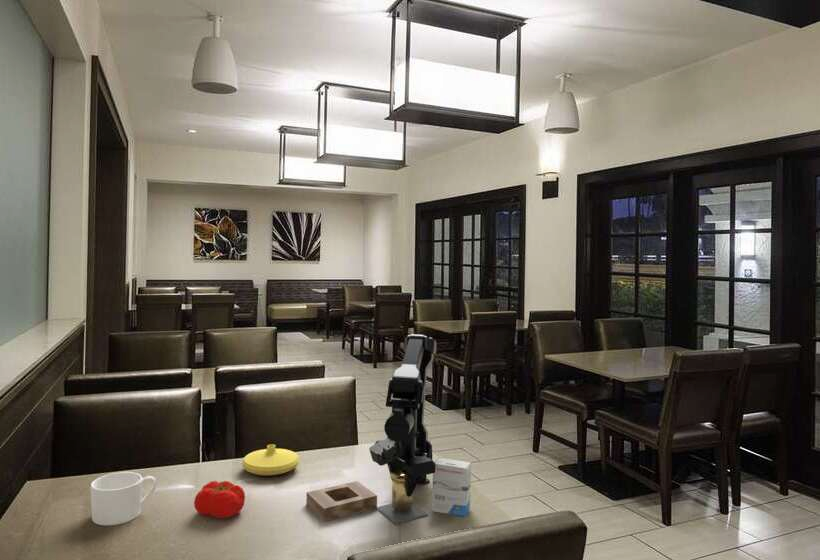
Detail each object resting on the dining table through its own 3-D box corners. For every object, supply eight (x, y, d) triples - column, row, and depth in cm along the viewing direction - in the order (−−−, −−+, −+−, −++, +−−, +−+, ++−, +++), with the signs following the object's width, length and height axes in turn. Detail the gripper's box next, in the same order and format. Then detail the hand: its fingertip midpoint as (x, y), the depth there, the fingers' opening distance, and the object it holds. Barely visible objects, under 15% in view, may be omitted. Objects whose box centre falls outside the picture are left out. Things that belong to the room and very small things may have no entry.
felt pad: (407, 500, 140) (407, 499, 140) (427, 515, 133) (427, 513, 133) (375, 508, 135) (376, 507, 135) (395, 524, 128) (395, 522, 128)
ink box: (470, 509, 137) (472, 461, 136) (465, 517, 132) (467, 468, 132) (436, 502, 139) (438, 456, 139) (431, 511, 135) (432, 463, 134)
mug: (89, 530, 121) (89, 493, 120) (91, 510, 130) (91, 475, 130) (157, 518, 127) (157, 483, 127) (154, 500, 136) (155, 467, 136)
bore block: (357, 492, 144) (357, 481, 144) (376, 507, 136) (377, 495, 136) (306, 504, 136) (306, 492, 136) (323, 521, 128) (324, 508, 128)
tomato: (227, 526, 124) (228, 497, 124) (186, 518, 128) (186, 490, 127) (252, 508, 134) (252, 481, 133) (213, 500, 137) (213, 474, 137)
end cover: (384, 504, 135) (385, 472, 134) (405, 498, 138) (406, 467, 138) (398, 514, 130) (399, 481, 129) (419, 508, 133) (420, 476, 133)
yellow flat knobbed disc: (255, 458, 166) (256, 434, 166) (306, 462, 164) (307, 439, 163) (231, 478, 150) (231, 453, 150) (287, 484, 148) (288, 458, 148)
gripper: (355, 421, 136) (354, 484, 137) (396, 444, 121) (394, 515, 121) (394, 415, 142) (392, 475, 143) (438, 436, 127) (435, 503, 128)
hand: (402, 491), depth 134 cm, fingers closed on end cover, 5 cm apart
